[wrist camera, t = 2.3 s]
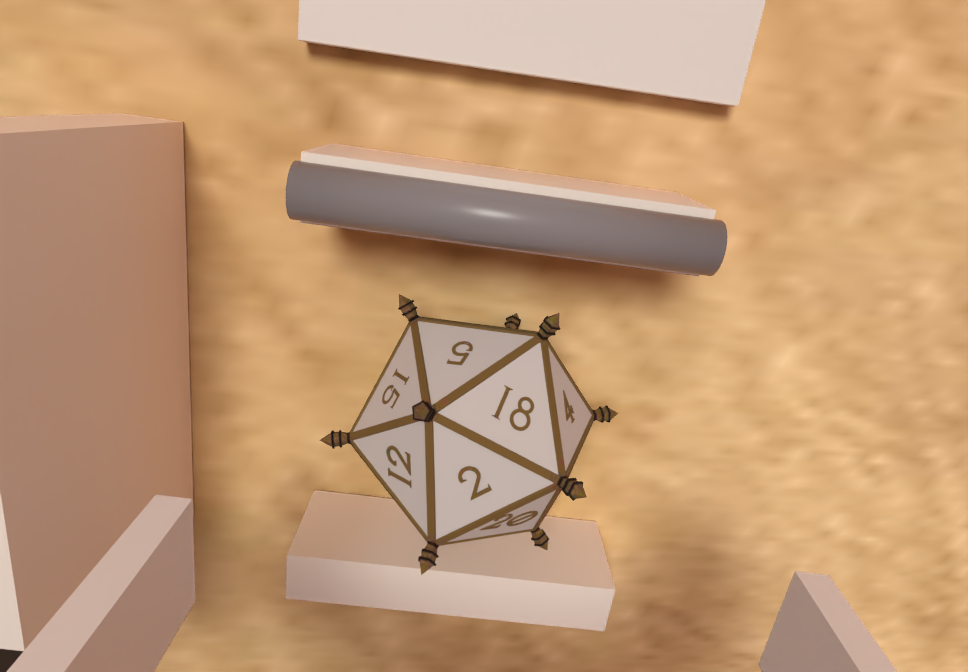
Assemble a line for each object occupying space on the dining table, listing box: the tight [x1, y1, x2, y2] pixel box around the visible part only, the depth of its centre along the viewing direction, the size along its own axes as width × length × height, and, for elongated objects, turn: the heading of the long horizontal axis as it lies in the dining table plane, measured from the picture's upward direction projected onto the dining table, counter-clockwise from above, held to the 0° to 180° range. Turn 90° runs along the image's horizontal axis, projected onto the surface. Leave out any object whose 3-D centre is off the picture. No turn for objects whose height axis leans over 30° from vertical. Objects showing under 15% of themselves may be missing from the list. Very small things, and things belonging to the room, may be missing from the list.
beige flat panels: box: [0, 113, 727, 651], centre depth 20 cm, size 16×19×10 cm
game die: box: [320, 294, 618, 575], centre depth 21 cm, size 9×8×10 cm
